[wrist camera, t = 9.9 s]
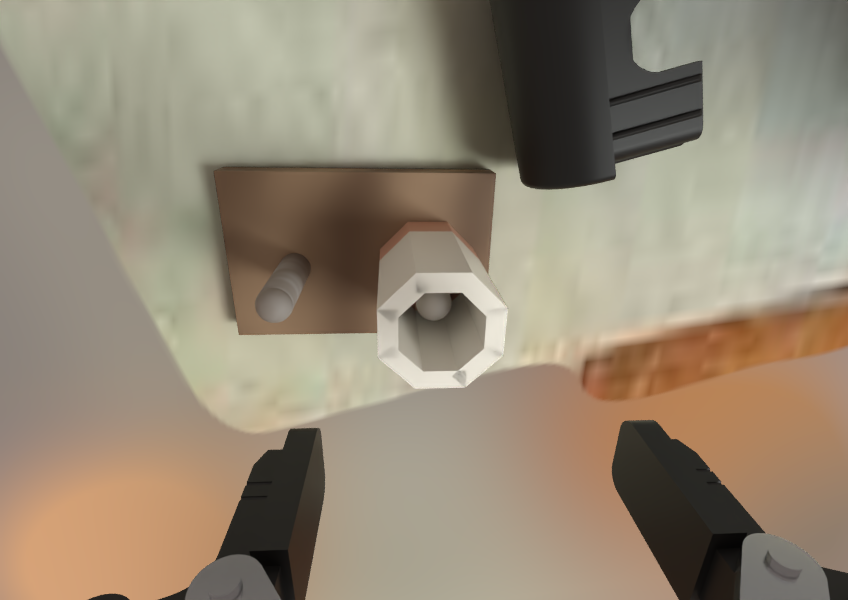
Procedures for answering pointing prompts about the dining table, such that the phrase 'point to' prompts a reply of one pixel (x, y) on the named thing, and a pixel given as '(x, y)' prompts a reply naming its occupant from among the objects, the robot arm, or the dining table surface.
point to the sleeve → (446, 338)
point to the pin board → (335, 239)
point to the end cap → (587, 91)
